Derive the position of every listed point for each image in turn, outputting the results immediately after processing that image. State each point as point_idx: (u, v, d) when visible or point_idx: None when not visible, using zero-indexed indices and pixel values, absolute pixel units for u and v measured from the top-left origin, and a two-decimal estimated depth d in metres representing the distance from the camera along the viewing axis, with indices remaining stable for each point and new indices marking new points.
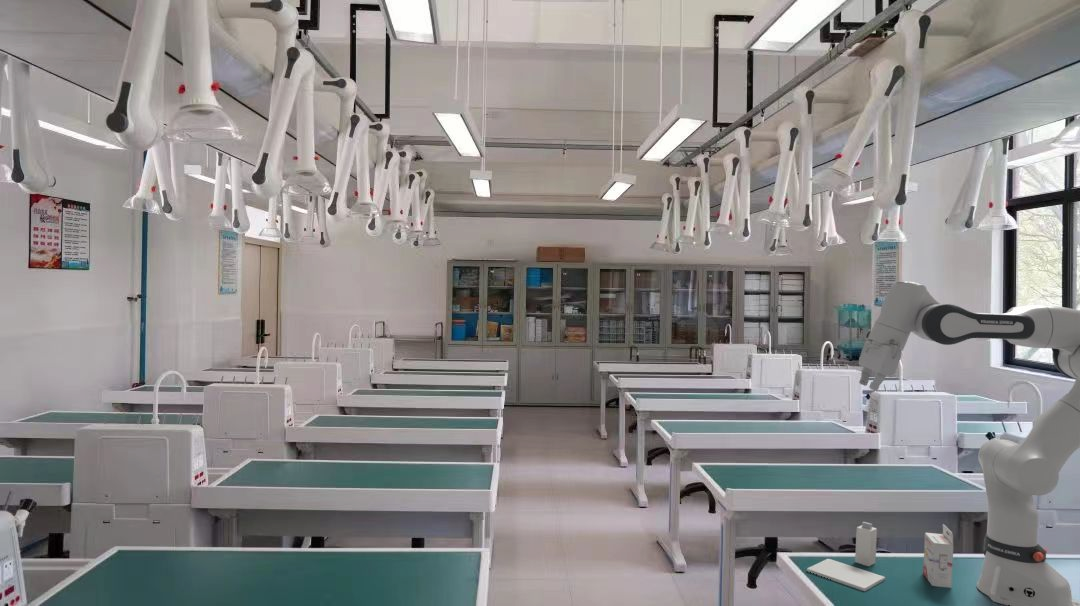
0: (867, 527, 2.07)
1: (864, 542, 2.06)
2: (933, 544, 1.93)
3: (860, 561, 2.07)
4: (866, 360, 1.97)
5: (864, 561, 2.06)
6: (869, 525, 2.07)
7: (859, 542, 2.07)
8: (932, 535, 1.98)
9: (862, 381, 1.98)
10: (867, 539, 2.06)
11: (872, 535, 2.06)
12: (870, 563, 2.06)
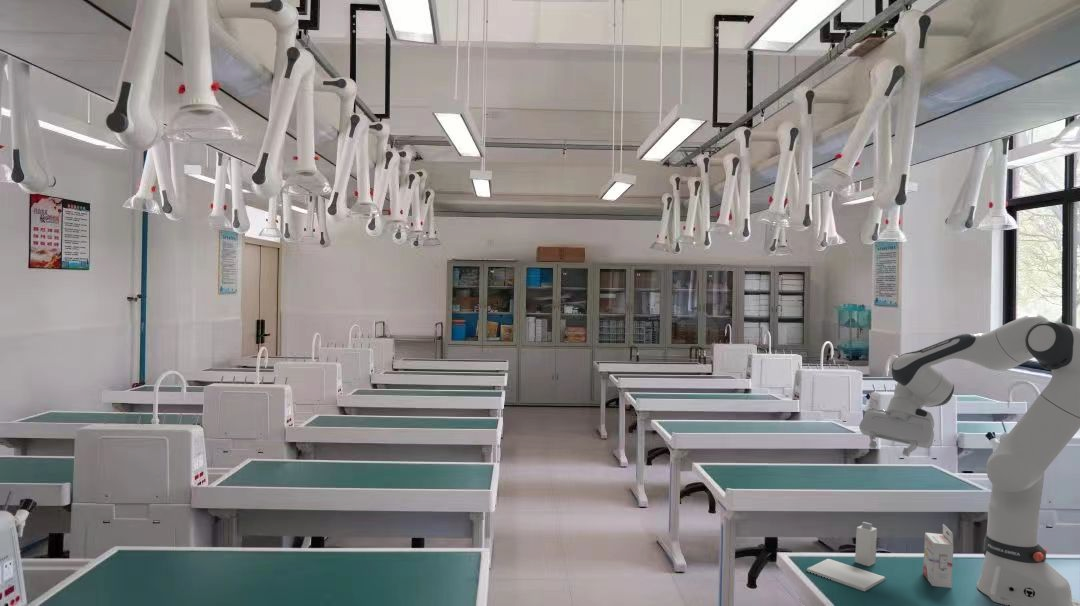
0: (867, 527, 2.07)
1: (864, 542, 2.06)
2: (933, 544, 1.93)
3: (860, 561, 2.07)
4: None
5: (864, 561, 2.06)
6: (869, 525, 2.07)
7: (859, 542, 2.07)
8: (932, 535, 1.98)
9: None
10: (867, 539, 2.06)
11: (872, 535, 2.06)
12: (870, 563, 2.06)
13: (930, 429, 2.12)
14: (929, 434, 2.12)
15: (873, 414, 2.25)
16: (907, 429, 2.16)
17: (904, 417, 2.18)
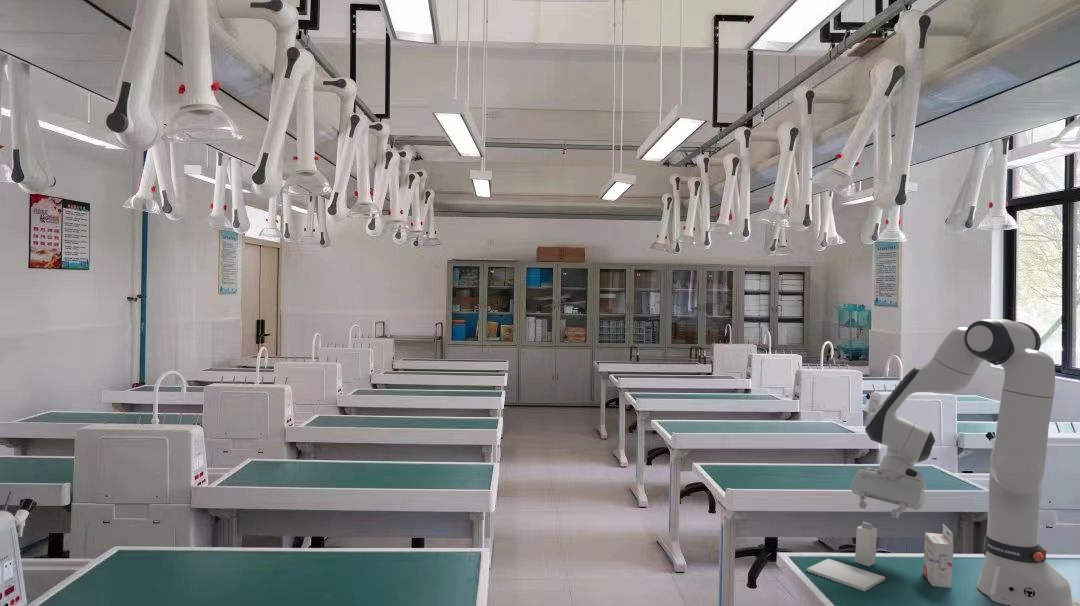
0: (867, 527, 2.07)
1: (864, 542, 2.06)
2: (933, 544, 1.93)
3: (860, 561, 2.07)
4: None
5: (864, 561, 2.06)
6: (869, 525, 2.07)
7: (859, 542, 2.07)
8: (932, 535, 1.98)
9: None
10: (867, 539, 2.06)
11: (872, 535, 2.06)
12: (870, 563, 2.06)
13: (919, 490, 2.08)
14: (918, 495, 2.07)
15: (865, 473, 2.21)
16: (897, 489, 2.12)
17: (894, 477, 2.15)
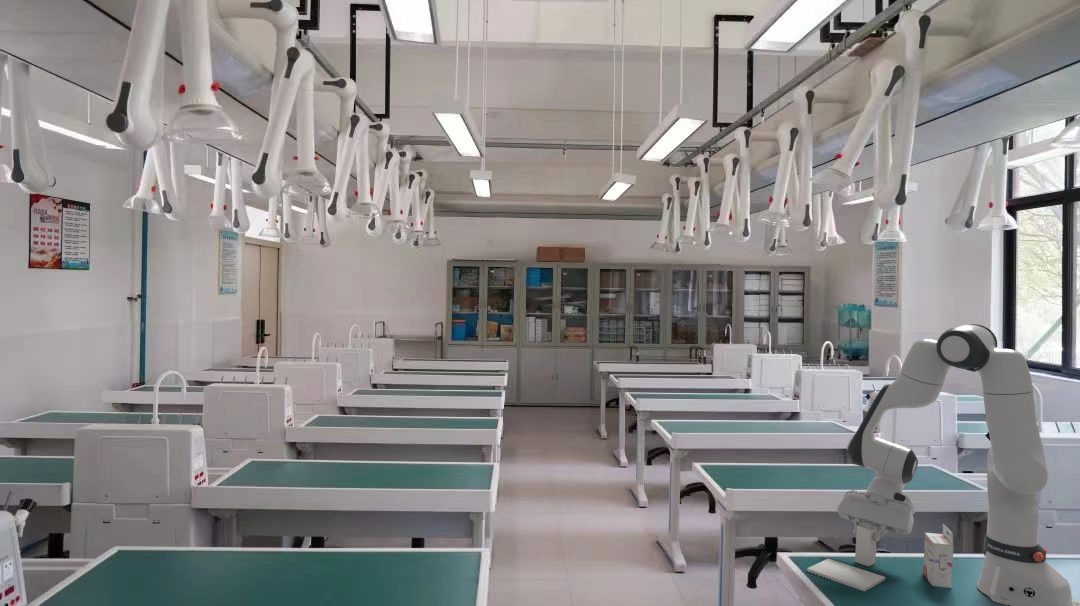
0: (867, 527, 2.07)
1: (864, 542, 2.06)
2: (933, 544, 1.93)
3: (860, 561, 2.07)
4: None
5: (864, 561, 2.06)
6: (869, 525, 2.07)
7: (859, 542, 2.07)
8: (932, 535, 1.98)
9: None
10: (867, 538, 2.06)
11: (872, 535, 2.06)
12: (870, 563, 2.06)
13: (908, 515, 2.03)
14: (906, 521, 2.03)
15: (852, 496, 2.17)
16: (885, 514, 2.07)
17: (882, 501, 2.10)
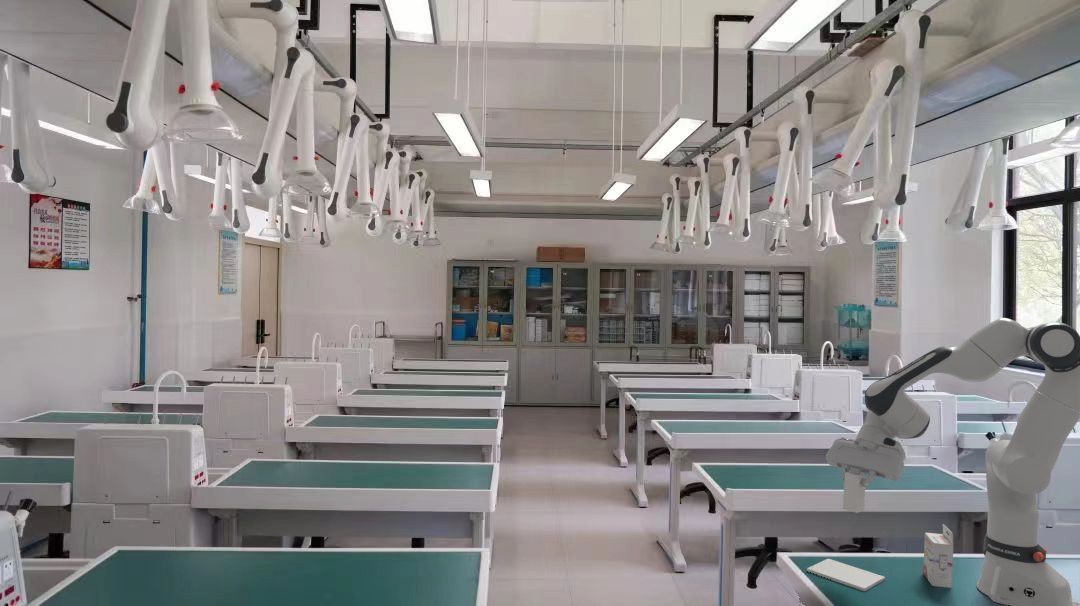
0: (855, 473, 2.00)
1: (853, 488, 1.99)
2: (933, 544, 1.93)
3: (848, 508, 2.00)
4: None
5: (852, 507, 1.99)
6: (858, 471, 1.99)
7: (847, 488, 2.00)
8: (932, 535, 1.98)
9: None
10: (855, 484, 1.98)
11: (860, 480, 1.98)
12: (858, 510, 1.98)
13: (898, 460, 1.96)
14: (896, 465, 1.95)
15: (841, 443, 2.09)
16: (874, 460, 2.00)
17: (872, 447, 2.02)
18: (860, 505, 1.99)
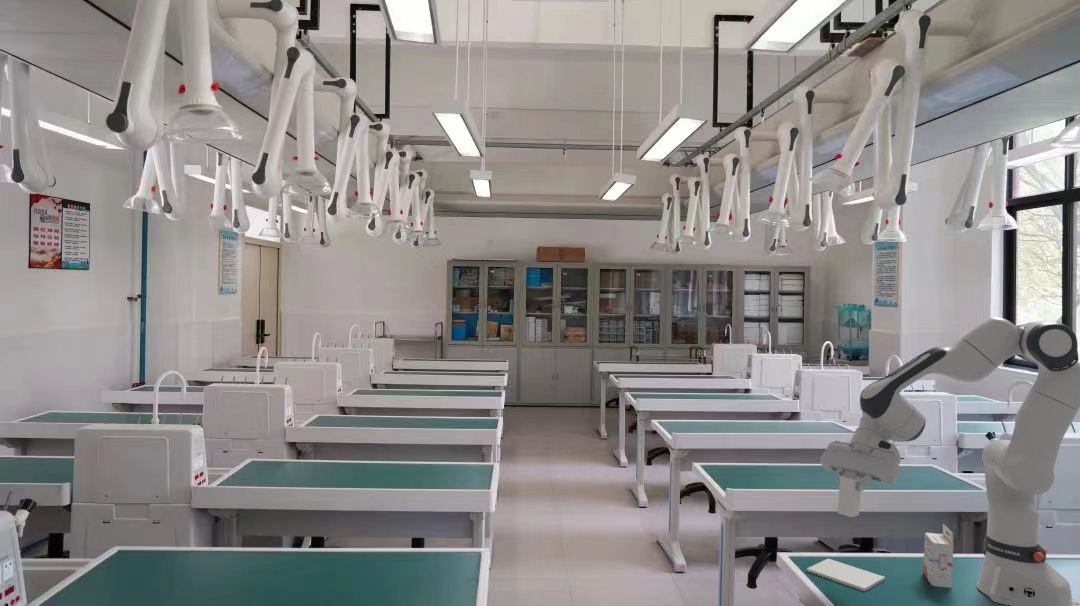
0: (851, 476, 1.96)
1: (848, 492, 1.96)
2: (933, 544, 1.93)
3: (843, 512, 1.96)
4: None
5: (847, 512, 1.96)
6: (853, 474, 1.96)
7: (842, 492, 1.97)
8: (932, 535, 1.98)
9: None
10: (850, 488, 1.95)
11: (855, 484, 1.95)
12: (854, 514, 1.95)
13: (893, 463, 1.93)
14: (892, 468, 1.92)
15: (836, 447, 2.06)
16: (870, 463, 1.97)
17: (867, 450, 1.99)
18: (855, 509, 1.96)
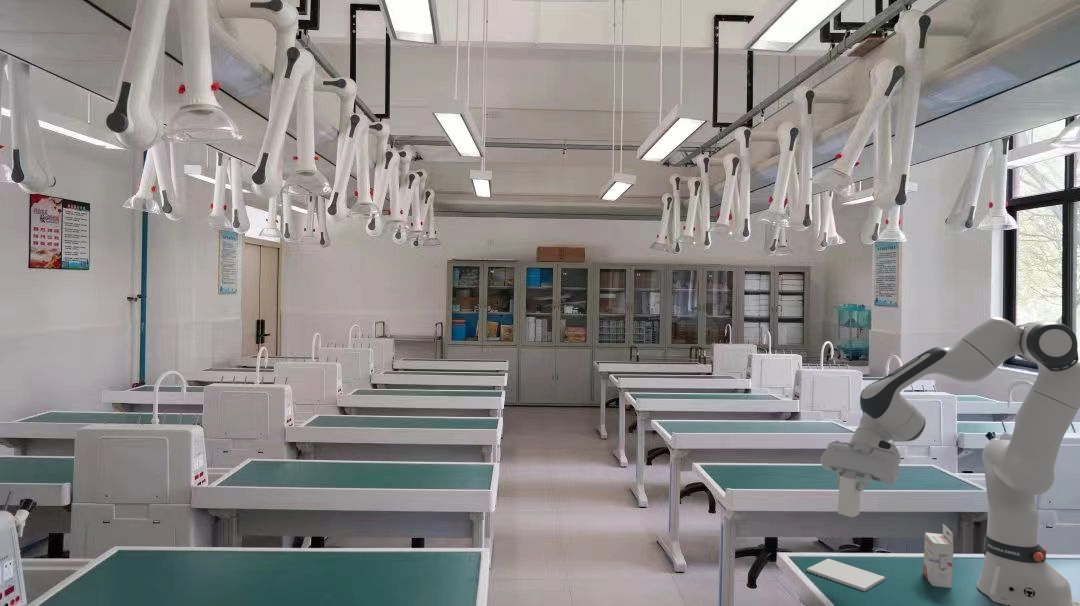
0: (851, 476, 1.96)
1: (848, 492, 1.96)
2: (933, 544, 1.93)
3: (843, 512, 1.96)
4: None
5: (847, 512, 1.96)
6: (853, 474, 1.96)
7: (842, 492, 1.97)
8: (932, 535, 1.98)
9: None
10: (850, 488, 1.95)
11: (855, 484, 1.95)
12: (854, 514, 1.95)
13: (893, 463, 1.93)
14: (892, 468, 1.92)
15: (836, 447, 2.06)
16: (870, 463, 1.97)
17: (867, 450, 1.99)
18: (855, 509, 1.96)
